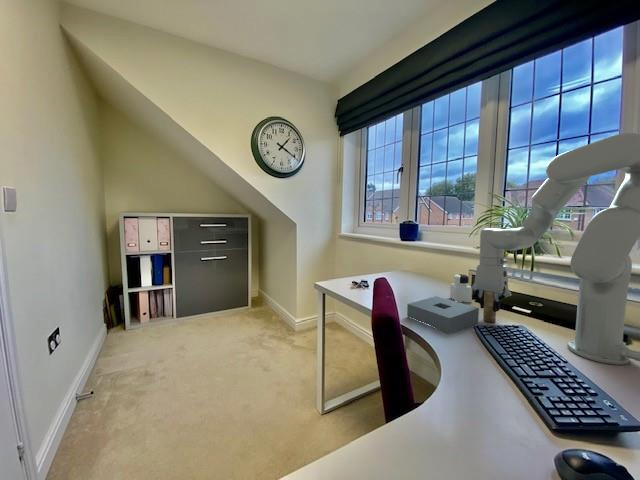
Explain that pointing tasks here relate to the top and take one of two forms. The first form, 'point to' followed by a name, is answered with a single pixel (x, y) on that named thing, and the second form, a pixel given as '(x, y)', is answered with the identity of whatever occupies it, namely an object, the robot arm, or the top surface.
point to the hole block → (443, 313)
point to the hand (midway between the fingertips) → (489, 308)
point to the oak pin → (489, 307)
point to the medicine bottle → (461, 289)
